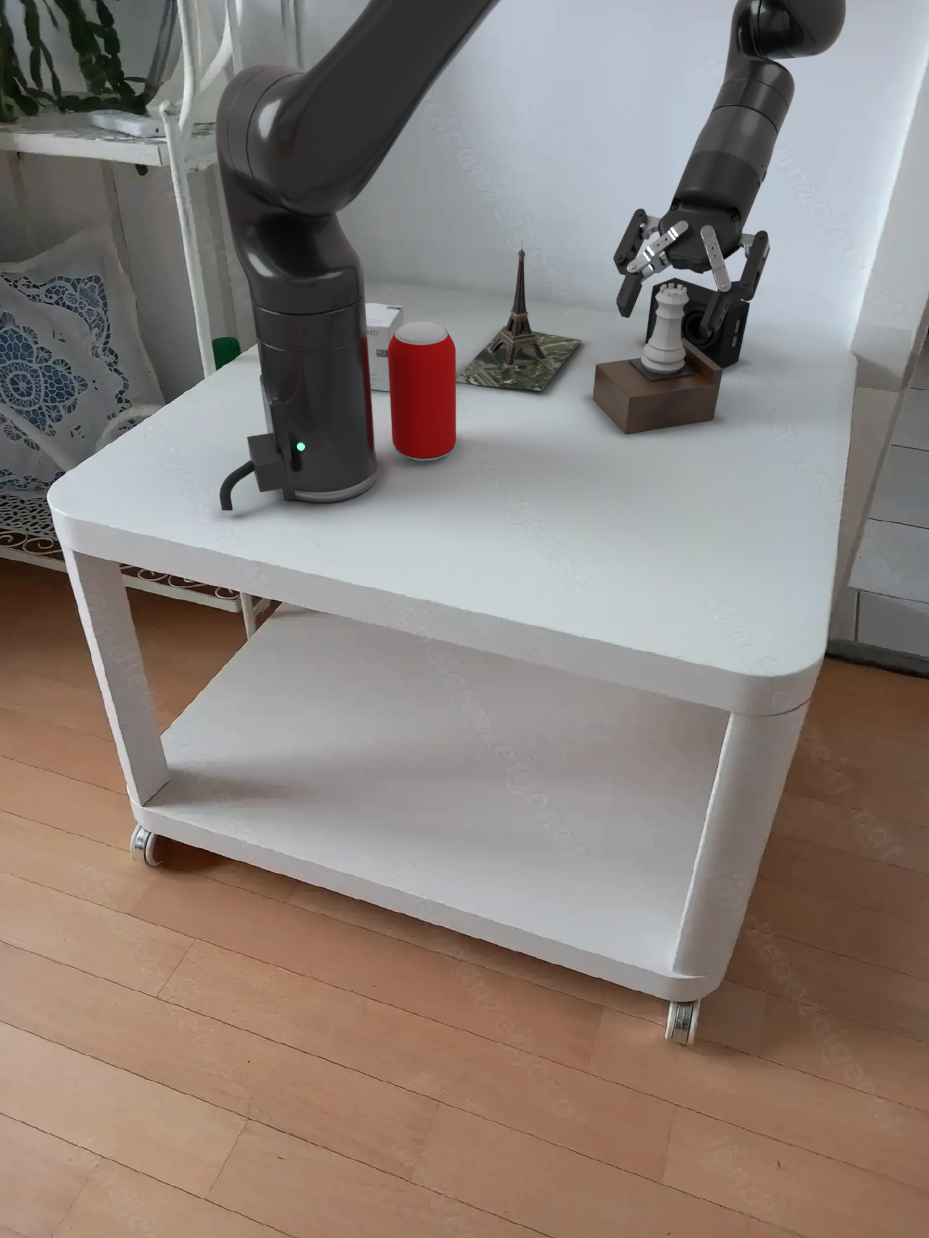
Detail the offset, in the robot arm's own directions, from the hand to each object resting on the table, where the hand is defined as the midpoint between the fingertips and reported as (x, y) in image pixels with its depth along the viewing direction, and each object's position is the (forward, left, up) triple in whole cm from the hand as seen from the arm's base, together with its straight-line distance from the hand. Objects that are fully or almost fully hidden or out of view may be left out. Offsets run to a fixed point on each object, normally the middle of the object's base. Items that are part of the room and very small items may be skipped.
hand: (663, 323), depth 92 cm
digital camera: (+10, +11, -9) cm, 18 cm away
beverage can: (-25, -1, -9) cm, 27 cm away
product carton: (-26, +16, -9) cm, 32 cm away
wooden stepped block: (0, 0, -9) cm, 9 cm away
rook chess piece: (+1, +1, -5) cm, 5 cm away
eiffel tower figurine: (-9, +15, -9) cm, 20 cm away
